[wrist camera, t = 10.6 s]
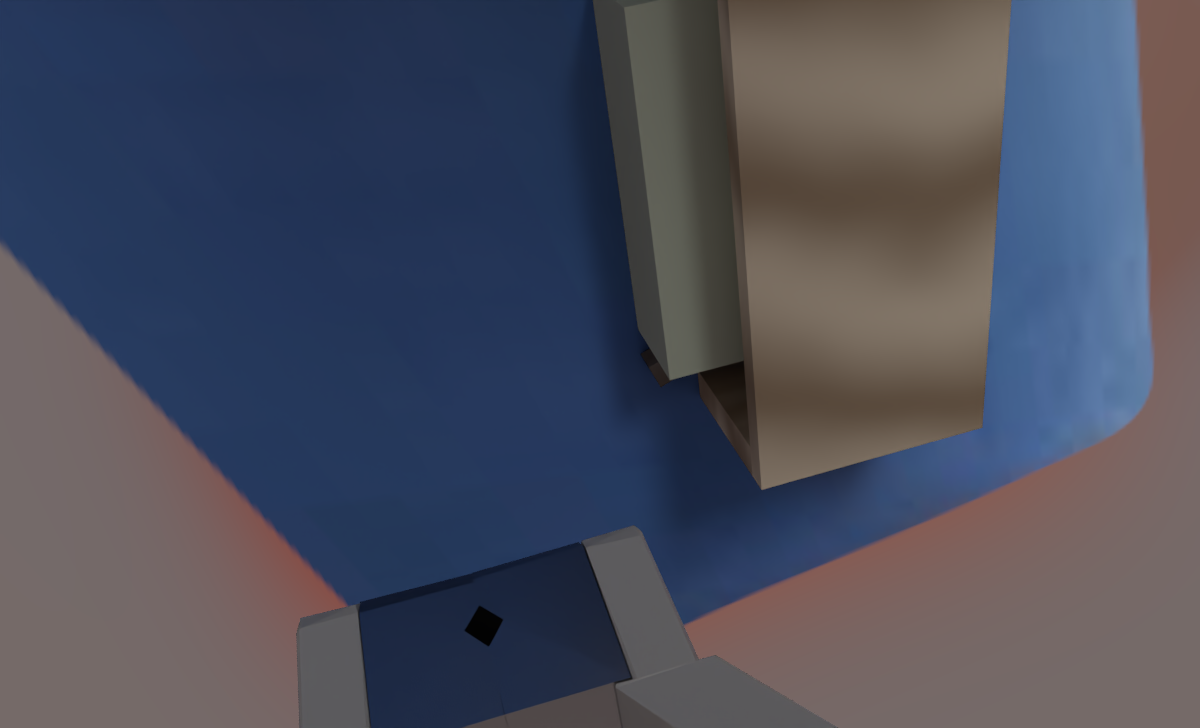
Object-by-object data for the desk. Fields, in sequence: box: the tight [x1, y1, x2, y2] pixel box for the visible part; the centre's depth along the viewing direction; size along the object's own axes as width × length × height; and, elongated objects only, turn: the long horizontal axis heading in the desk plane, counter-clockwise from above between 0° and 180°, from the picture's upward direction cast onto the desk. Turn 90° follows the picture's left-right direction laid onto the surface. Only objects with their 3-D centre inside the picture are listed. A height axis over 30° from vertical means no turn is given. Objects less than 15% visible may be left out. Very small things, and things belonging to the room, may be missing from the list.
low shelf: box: [641, 0, 1011, 490], centre depth 33 cm, size 20×10×6 cm, turn 8°
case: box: [593, 0, 744, 380], centre depth 34 cm, size 12×9×4 cm
